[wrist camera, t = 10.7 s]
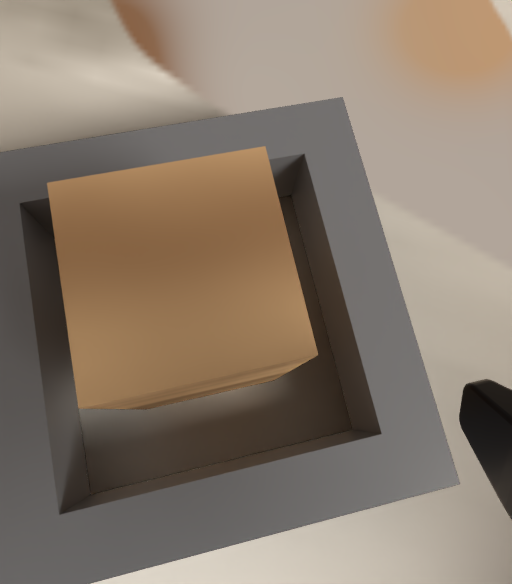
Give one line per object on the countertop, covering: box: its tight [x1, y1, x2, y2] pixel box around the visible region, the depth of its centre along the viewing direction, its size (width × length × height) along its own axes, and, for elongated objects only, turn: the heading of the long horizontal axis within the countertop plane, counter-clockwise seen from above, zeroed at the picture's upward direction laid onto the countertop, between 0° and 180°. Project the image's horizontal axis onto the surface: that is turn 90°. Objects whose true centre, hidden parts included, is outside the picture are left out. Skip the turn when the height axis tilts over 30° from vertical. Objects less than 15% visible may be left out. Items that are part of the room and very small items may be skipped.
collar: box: [0, 97, 460, 584], centre depth 17 cm, size 14×14×4 cm
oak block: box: [47, 146, 318, 409], centre depth 15 cm, size 5×5×9 cm
